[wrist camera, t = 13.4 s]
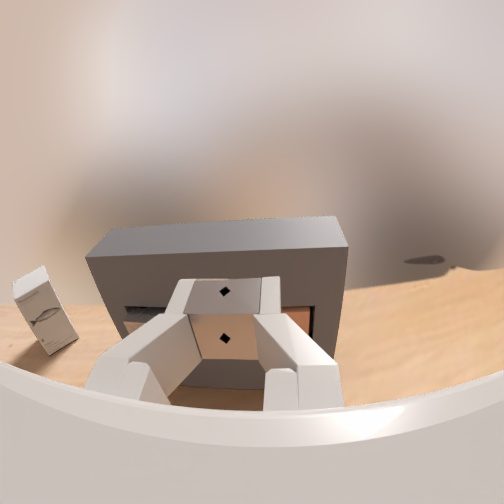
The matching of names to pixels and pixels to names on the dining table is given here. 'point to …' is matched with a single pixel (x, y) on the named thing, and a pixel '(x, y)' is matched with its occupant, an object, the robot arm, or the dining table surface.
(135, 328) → the grey button
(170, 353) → the robot arm
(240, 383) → the panel
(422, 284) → the dining table surface
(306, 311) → the button terracotta
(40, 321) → the supplement box
